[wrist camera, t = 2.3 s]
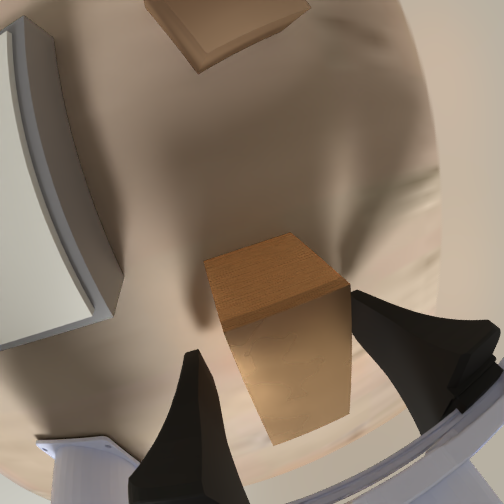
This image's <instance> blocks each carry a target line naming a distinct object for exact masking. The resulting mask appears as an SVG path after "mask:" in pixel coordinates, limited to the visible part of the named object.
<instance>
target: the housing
mask: <svg viewBox="0 0 504 504" xmlns="http://www.w3.org/2000/svg"><path fill="white" fill-rule="evenodd" d="M204 265H205V269H206V272H207V276H208V280H209V283H210V287H211V290H212V294H213V298H214V301H215V305H216V308H217V312H218V315H219V318H220V322H221V325H222V329H223V332H224V335H225V337H226V340H227V342H228V344H229V347H230V349H231V352H232V354H233V357H234V359H235V361H236V364H237V366H238V368H239V371H240V373H241V376H242V378H243V380H244V382H245V385H246V387H247V389H248V392H249V394H250V396H251V398H252V401H253V403H254V405H255V407H256V410H257V412H258V414H259V416H260V418H261V420H262V423H263V425H264V427H265V429H266V431H267V433H268V435H269V438H270V440H271V442H272V444H273V446H275V445H277V444H280V443H283V442H286V441H288V440H291V439H294V438H296V437H299V436H301V435H304V434H306V433H308V432H311V431H313V430H316V429H318V428H320V427H322V426H325V425H327V424H329V423H331V422H333V421H335V420H338V419H340V418H342V417H344V416H346V415H348V414H349V410H350V393H351V365H352V317H351V288H350V283H348V282H347V281H346V280H345V279H344V278H343V277H342V276H341V275H339V274H338V273H337V272H336V271H335V270H334V269H333V268H331V267H330V266H329V265H328V264H327V263H326V262H325V261H323V260H322V259H321V258H320V257H319V256H318V255H317V254H315V253H314V252H313V251H312V250H311V249H310V248H308V247H307V246H306V245H305V244H304V243H303V242H301V241H300V240H299V239H298V238H297V237H296V236H294V235H293V234H292V233H291V232H290V233H287V234H284V235H281V236H278V237H275V238H272V239H269V240H266V241H263V242H260V243H257V244H254V245H251V246H248V247H245V248H242V249H239V250H236V251H233V252H230V253H227V254H224V255H221V256H218V257H215V258H212V259H209V260H206V261H204Z"/></svg>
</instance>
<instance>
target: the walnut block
mask: <svg viewBox="0 0 504 504" xmlns="http://www.w3.org/2000/svg"><path fill="white" fill-rule="evenodd" d="M144 3H145V8H146V9H147V10H148V11H149V13H150V14H151V15H152V16H153V17H154V19H155V20H156V21H157V22H158V24H159V25H160V26H161V27H162V28H163V30H164V31H165V32H166V33H167V35H168V36H169V37H170V38H171V40H172V41H173V42H174V43H175V45H176V46H177V47H178V49H179V50H180V51H181V52H182V54H183V55H184V56H185V58H186V59H187V60H188V62H189V63H190V64H191V66H192V67H193V68H194V70H195V71H196V72H197V74H200V73H201V72H203V71H205V70H206V69H208V68H210V67H212V66H213V65H215V64H217V63H218V62H220V61H222V60H224V59H226V58H228V57H229V56H231V55H233V54H235V53H237V52H239V51H241V50H243V49H245V48H247V47H249V46H251V45H253V44H255V43H257V42H259V41H261V40H263V39H265V38H268V37H270V36H272V35H274V34H277V33H279V32H281V31H282V30H284V29H285V28H286V27H287V26H289V25H290V24H291V23H292V22H293V21H295V20H296V19H297V18H299V17H300V16H301V15H302V14H304V13H305V12H306V11H308V10H309V9H310V8H311V7H310V5H309V4H308V3H307V1H306V0H144Z"/></svg>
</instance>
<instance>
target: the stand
mask: <svg viewBox="0 0 504 504" xmlns="http://www.w3.org/2000/svg"><path fill="white" fill-rule="evenodd" d="M123 279H124V276H123V273H122V271H121V269H120V267H119V265H118V262H117V260H116V258H115V256H114V253H113V251H112V249H111V247H110V244H109V242H108V239H107V237H106V235H105V232H104V230H103V227H102V225H101V222H100V220H99V217H98V214H97V212H96V209H95V206H94V204H93V201H92V198H91V195H90V192H89V189H88V187H87V184H86V181H85V178H84V174H83V171H82V168H81V165H80V162H79V158H78V155H77V152H76V148H75V145H74V141H73V137H72V133H71V130H70V126H69V122H68V117H67V113H66V109H65V104H64V100H63V95H62V90H61V84H60V79H59V73H58V67H57V60H56V53H55V45H54V38H53V37H52V36H50V35H49V34H48V33H47V32H45V31H44V30H43V29H41V28H40V27H39V26H37V25H36V24H35V23H34V22H32V21H31V20H30V19H28V18H27V17H26V16H22V17H21V18H19V19H17V20H16V21H14V22H13V23H11V24H10V25H8V26H7V27H6V28H4V29H3V30H1V31H0V351H3V350H6V349H10V348H13V347H17V346H20V345H24V344H27V343H30V342H34V341H37V340H41V339H44V338H47V337H51V336H54V335H57V334H61V333H64V332H67V331H71V330H74V329H77V328H81V327H84V326H87V325H90V324H94V323H97V322H100V321H103V320H107V319H110V318H113V317H114V313H115V309H116V305H117V301H118V298H119V294H120V290H121V287H122V283H123Z"/></svg>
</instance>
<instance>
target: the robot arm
mask: <svg viewBox="0 0 504 504" xmlns="http://www.w3.org/2000/svg"><path fill="white" fill-rule="evenodd" d="M351 317H352V334H353V335H354V337H355V338H356V340H357V341H358V342H359V343H360V345H361V346H362V347H363V348H364V349H365V350H366V352H367V353H368V354H369V355H370V356H371V357H372V358H373V360H374V361H375V362H376V363H377V364H378V365H379V366H380V368H381V369H382V370H383V371H384V372H385V374H386V375H387V376H388V378H389V379H390V380H391V382H392V383H393V385H394V386H395V388H396V390H397V391H398V393H399V394H400V396H401V398H402V399H403V401H404V403H405V404H406V406H407V408H408V410H409V412H410V413H411V415H412V417H413V419H414V421H415V423H416V425H417V427H418V429H419V431H420V434H421V436H420V437H419V438H417V439H416V440H414V441H413V442H411V443H410V444H408V445H407V446H405V447H404V448H402V449H401V450H399V451H398V452H396V453H394V454H393V455H391V456H389V457H388V458H386V459H384V460H383V461H381V462H379V463H377V464H376V465H374V466H372V467H370V468H368V469H367V470H364V471H362V472H361V473H359V474H357V475H355V476H353V477H351V478H348V479H346V480H344V481H342V482H340V483H338V484H335V485H333V486H331V487H329V488H326V489H324V490H322V491H319V492H317V493H314V494H312V495H309V496H306V497H304V498H301V499H298V500H296V501H292V502H290V503H286V504H333V503H336V502H338V501H340V500H342V499H345V498H347V497H349V496H351V495H353V494H355V493H357V492H359V491H361V490H363V489H365V488H367V487H369V486H371V485H372V484H374V483H376V482H378V481H380V480H382V479H383V478H385V477H387V476H388V475H390V474H392V473H394V472H395V471H397V470H398V469H400V468H402V467H403V466H405V465H406V464H408V463H409V462H411V461H412V460H414V459H415V458H417V457H418V456H420V455H421V454H423V453H424V452H425V451H426V454H425V456H424V457H422V458H421V459H419V460H418V461H417V462H415V463H414V464H412V465H411V466H409V467H408V468H406V469H404V470H403V471H401V472H400V473H398V474H397V475H395V476H393V477H392V478H390V479H388V480H386V481H385V482H383V483H381V484H379V485H378V486H376V487H374V488H372V489H371V490H369V491H367V492H365V493H364V494H362V495H360V496H358V497H356V498H354V499H353V500H351V501H348V502H347V503H345V504H503V503H502V501H501V500H500V499H499V497H498V496H497V495H496V493H495V492H494V491H493V489H492V488H491V487H490V486H489V484H488V483H487V482H486V480H485V479H484V478H483V477H482V475H481V474H480V473H479V472H478V470H477V469H476V468H475V466H474V465H473V464H472V463H471V461H470V460H469V459H470V458H471V457H472V456H473V455H474V454H475V453H477V452H478V451H479V450H480V449H481V448H482V447H483V446H484V445H485V444H486V443H487V442H488V441H489V440H490V439H491V438H492V437H493V435H494V434H495V433H496V432H497V431H498V430H499V429H500V428H501V427H502V426H503V425H504V358H503V359H502V360H501V361H500V363H499V364H496V363H495V361H496V357H495V356H494V355H493V351H494V349H495V347H496V345H497V343H498V340H499V337H500V328H498V327H497V326H496V325H495V324H493V323H492V322H491V321H489V320H455V319H446V318H439V317H434V316H429V315H425V314H421V313H417V312H414V311H411V310H408V309H405V308H402V307H399V306H396V305H394V304H391V303H389V302H386V301H384V300H381V299H379V298H376V297H374V296H372V295H369V294H367V293H364V292H362V291H359V290H355V291H353V292H351ZM36 445H37V446H38V447H39V448H40V449H41V450H43V451H44V452H45V453H47V454H48V455H49V456H51V457H52V458H53V459H55V461H54V470H53V480H52V492H51V504H250V503H249V500H248V498H247V496H246V493H245V491H244V489H243V486H242V483H241V481H240V478H239V475H238V473H237V470H236V467H235V464H234V461H233V458H232V455H231V452H230V449H229V446H228V443H227V439H226V434H225V429H224V424H223V418H222V413H221V407H220V402H219V396H218V393H217V389H216V386H215V382H214V379H213V376H212V374H211V373H210V371H209V369H208V367H207V365H206V363H205V361H204V359H203V357H202V355H201V353H200V351H199V349H197V350H193V351H190V352H187V353H185V355H184V360H183V365H182V370H181V374H180V378H179V382H178V385H177V389H176V393H175V396H174V399H173V402H172V405H171V408H170V410H169V413H168V415H167V418H166V420H165V422H164V425H163V427H162V429H161V431H160V433H159V435H158V437H157V438H156V440H155V442H154V444H153V445H152V447H151V448H150V450H149V452H148V453H147V455H146V456H145V458H144V459H143V461H142V462H141V463H140V462H139V461H137V460H136V459H135V458H133V457H132V456H131V455H129V454H128V453H127V452H126V451H124V450H123V449H122V448H121V447H119V446H118V445H117V444H116V443H114V442H113V441H112V440H111V439H110V438H108V437H106V436H97V437H87V438H75V439H58V440H37V441H36ZM429 448H430V449H429ZM428 449H429V450H428Z"/></svg>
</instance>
